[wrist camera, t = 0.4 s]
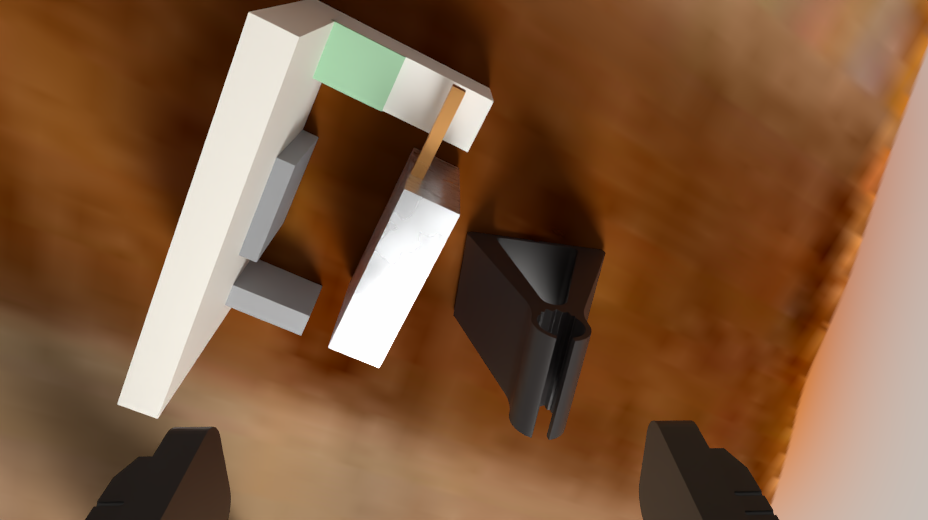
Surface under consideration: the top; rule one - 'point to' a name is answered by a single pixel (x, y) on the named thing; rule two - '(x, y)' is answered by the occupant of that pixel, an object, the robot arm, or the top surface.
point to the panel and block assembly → (273, 177)
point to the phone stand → (529, 319)
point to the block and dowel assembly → (401, 247)
